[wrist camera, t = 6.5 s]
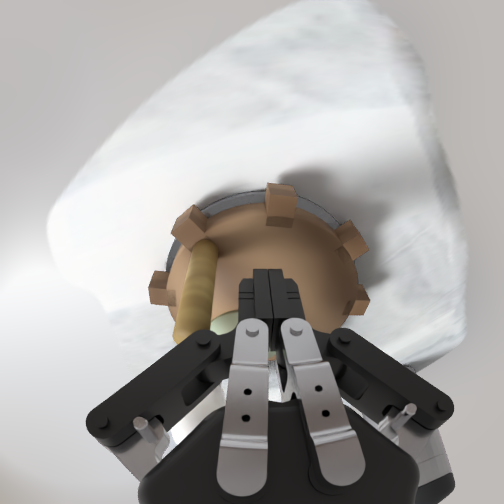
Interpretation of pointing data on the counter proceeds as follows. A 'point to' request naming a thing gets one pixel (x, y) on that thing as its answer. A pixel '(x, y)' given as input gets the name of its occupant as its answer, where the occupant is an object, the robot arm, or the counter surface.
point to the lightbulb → (198, 414)
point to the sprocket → (259, 264)
